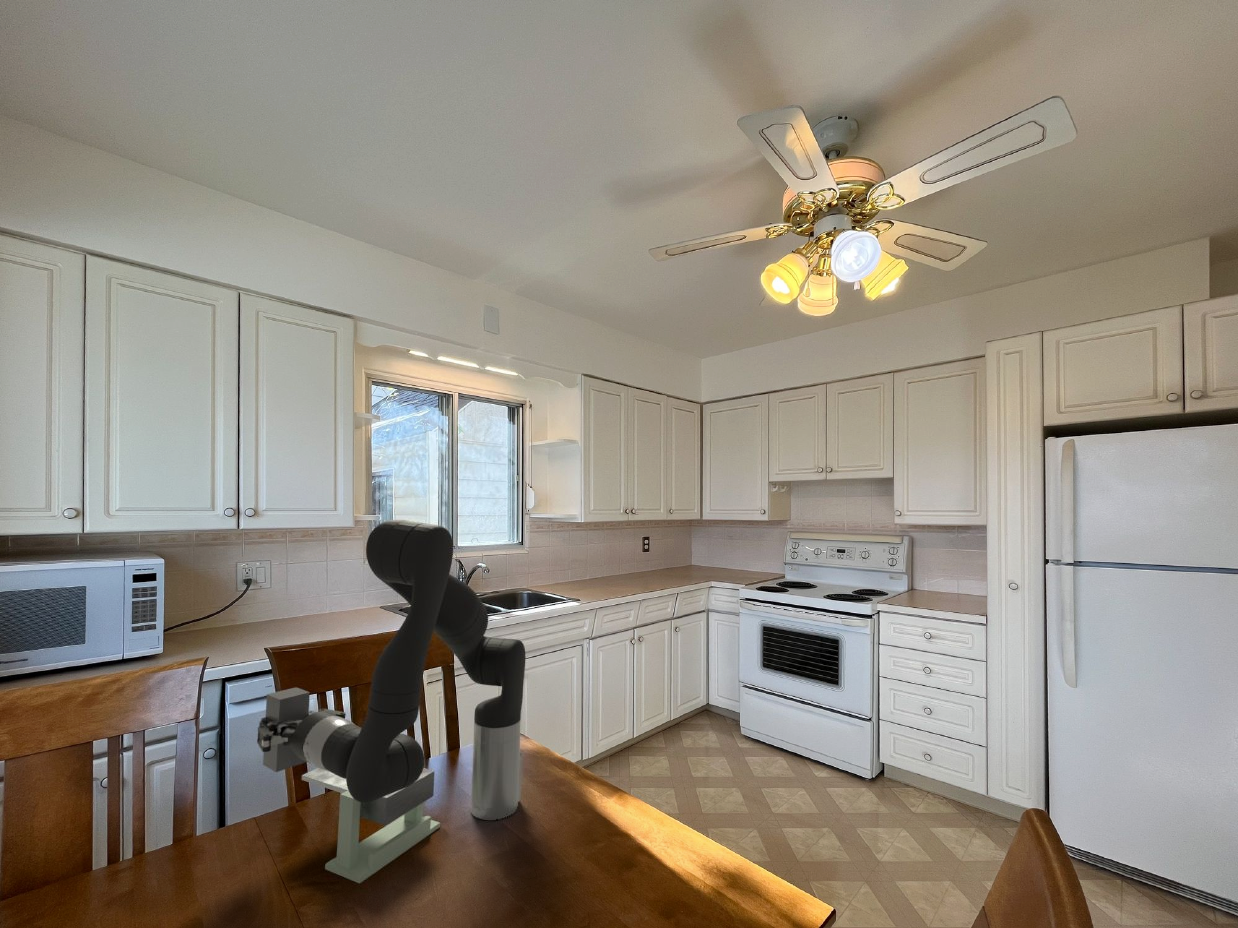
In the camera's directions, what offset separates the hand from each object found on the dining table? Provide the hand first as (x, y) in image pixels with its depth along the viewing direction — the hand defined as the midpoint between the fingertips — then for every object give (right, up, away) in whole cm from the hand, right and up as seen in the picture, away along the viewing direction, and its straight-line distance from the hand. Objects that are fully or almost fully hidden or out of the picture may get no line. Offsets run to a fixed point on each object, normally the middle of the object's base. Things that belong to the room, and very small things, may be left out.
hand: (280, 718), depth 102 cm
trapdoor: (+16, -14, 0) cm, 21 cm away
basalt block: (+2, -7, -2) cm, 7 cm away
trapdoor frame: (+19, -22, -2) cm, 29 cm away
